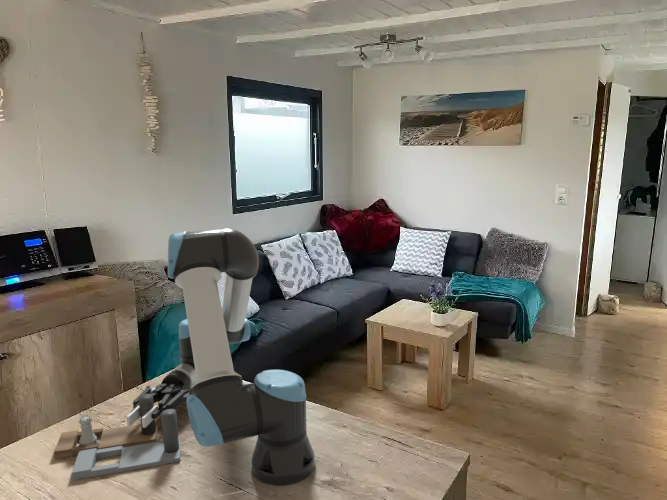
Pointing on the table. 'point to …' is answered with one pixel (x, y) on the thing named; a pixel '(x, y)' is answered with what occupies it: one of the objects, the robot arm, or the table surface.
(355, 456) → the table surface
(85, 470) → the grey board with post
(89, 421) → the rook chess piece
